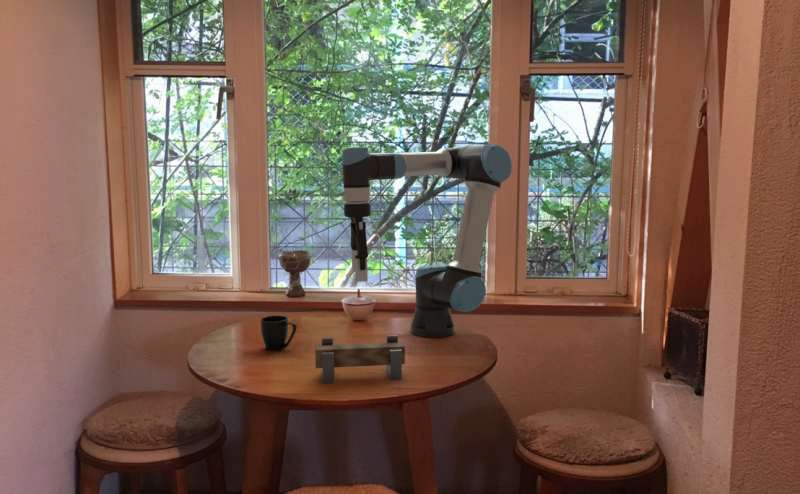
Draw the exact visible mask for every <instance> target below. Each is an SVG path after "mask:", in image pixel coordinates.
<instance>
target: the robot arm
mask: <svg viewBox="0 0 800 494" xmlns="http://www.w3.org/2000/svg"><path fill="white" fill-rule="evenodd" d="M341 157H342V158H341V165H342V181H343V190H342V191H341V192H340V193H341V195H343V201H344V202H345V203H344V204H343V215H344V217H346V218H350V225H349V227H350V245H349V246H350V247H351V248H350V249H351V271H352V273H356V276H357V282H358V283H361V282H368V281H369V280H368V278H369V277H368V257H369V253H368V242H367V232H366V230H367V229H366V228H367V224H366V222H365V221H364V218H366V217H370V216H371V215H372V206H371V205H372V204H371V202H370V201H371V200H372V198H371V181H382V180H383V181H384V180H393V181H394V180H397V179H398V180H399V179H402V178H403V177H422V176H423V177H424V176H437V177H439V178H441V179H442V178H444V179H445V178H449V179H458V180H464V182H463V183H464V185H465V186H466V188H467V190H466V191H467V192H466V196H465V201H464V206H463V208H462V209H463V210H462V215H461V219H460V220H461V221H460V224H459V229H458V233H457V237H456V241H455V242H456V244H455V246H454V252H453V258H452V261H451V262H449V263H448V264H429V265H422V266H419V267H417V268H416V270H415V271H416V272H415V310H414V314H413V317H412V320H411V322H410V333H411V334H412V335H416V336H419V337H423V338H424V337H425V338H443V337H449V336H452V335H453V334H455V329H456V328H455V322H454V320H453V316H452V313H451V309H453V310H454V311H457V312H463V313H464V312H465V313H466V312H468V313H469V312H472V311H474V310H476V309H477V308H479V307H480V305H481V304H482V303H483V301H484V299H485V297H486V293H487V292H486V291H487V288H486V287H487V286H486V285H485V281H484V280H483V279H482V275H483V271H482V269H481V268H480V262H481V257H482V252H483V247H484V243H485V238H486V234H487V229H488V223H489V219H490V214H491V209H492V205H493V200H494V196H495V194H496V193H498V191H500V189H501V185H502V183H504V182H506V181H507V180H508V178H510V176H511V174H512V171H513V162H512V157H511V155H510V154H509V152H508V150H507V149H506V148H505V147H504V146H502V145H497V144H491V143H487V144H467V145H461V146H455V147H449V148H439V149H438V150H437V151H423V152H420V151H419V152H418V151H417V152H413V151H412V152H382V153H381V152H379V153H378V152H377V153H375V152H374V153H373V152H372V153H371V152H370V149H369V147H368V146H355V147H354V146H350V147H348V146H347V147H344V148H343V149H342V156H341Z"/></svg>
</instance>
